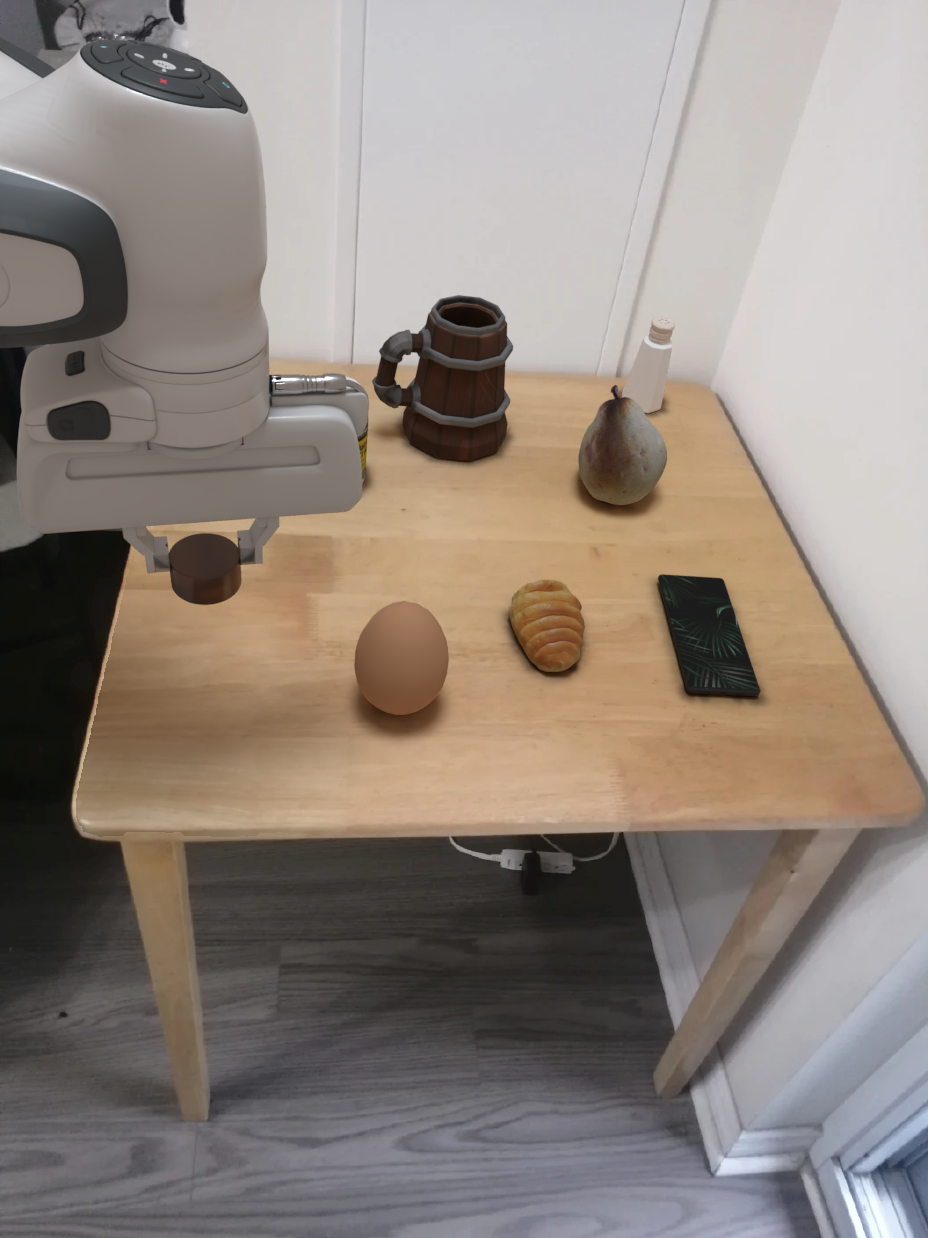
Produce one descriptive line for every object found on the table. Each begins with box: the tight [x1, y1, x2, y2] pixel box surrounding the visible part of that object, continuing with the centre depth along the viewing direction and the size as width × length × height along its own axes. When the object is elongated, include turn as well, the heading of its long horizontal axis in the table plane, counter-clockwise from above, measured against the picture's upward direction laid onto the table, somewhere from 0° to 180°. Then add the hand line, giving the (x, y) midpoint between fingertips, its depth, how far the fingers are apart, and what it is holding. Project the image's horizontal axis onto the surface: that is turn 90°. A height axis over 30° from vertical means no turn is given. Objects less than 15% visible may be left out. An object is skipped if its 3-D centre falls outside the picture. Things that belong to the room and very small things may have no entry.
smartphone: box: [657, 573, 761, 697], centre depth 89 cm, size 7×1×15 cm
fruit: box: [578, 384, 668, 506], centre depth 100 cm, size 10×9×12 cm
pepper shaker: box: [621, 316, 676, 414], centre depth 115 cm, size 5×5×11 cm
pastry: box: [508, 579, 586, 673], centre depth 85 cm, size 9×7×4 cm
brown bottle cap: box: [169, 532, 242, 606], centre depth 63 cm, size 5×5×2 cm
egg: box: [353, 600, 450, 716], centre depth 76 cm, size 8×8×11 cm
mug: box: [371, 294, 514, 462], centre depth 103 cm, size 16×12×15 cm
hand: (204, 562), depth 62 cm, fingers closed on brown bottle cap, 4 cm apart
